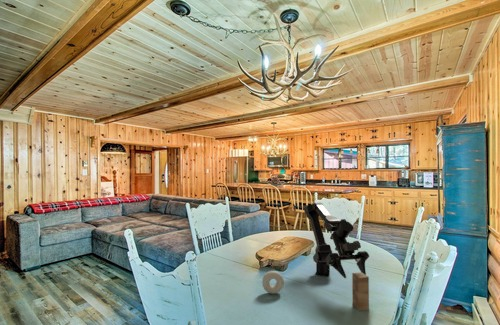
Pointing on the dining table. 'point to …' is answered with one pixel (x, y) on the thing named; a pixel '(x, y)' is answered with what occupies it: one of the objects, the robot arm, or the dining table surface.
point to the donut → (275, 288)
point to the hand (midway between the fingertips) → (355, 277)
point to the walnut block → (360, 291)
